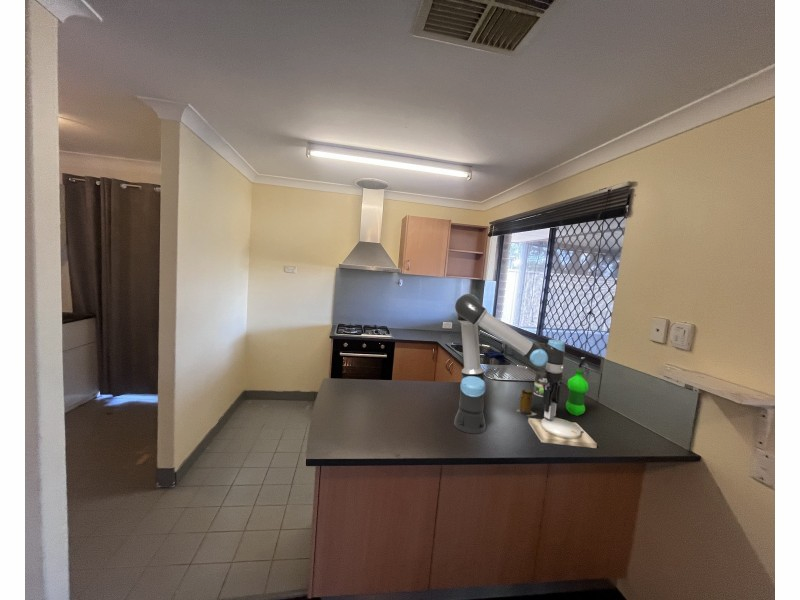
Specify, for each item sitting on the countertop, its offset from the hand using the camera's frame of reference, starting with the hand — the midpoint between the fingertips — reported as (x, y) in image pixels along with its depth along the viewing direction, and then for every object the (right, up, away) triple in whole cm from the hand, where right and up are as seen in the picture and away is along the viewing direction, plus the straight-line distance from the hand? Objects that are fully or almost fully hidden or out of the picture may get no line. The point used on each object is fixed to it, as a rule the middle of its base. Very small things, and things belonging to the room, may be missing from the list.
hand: (549, 416), depth 156 cm
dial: (+3, -4, -5) cm, 7 cm away
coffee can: (+17, -3, +46) cm, 49 cm away
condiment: (-5, -5, +17) cm, 19 cm away
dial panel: (+3, -7, -5) cm, 9 cm away
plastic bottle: (+24, -6, +20) cm, 31 cm away
